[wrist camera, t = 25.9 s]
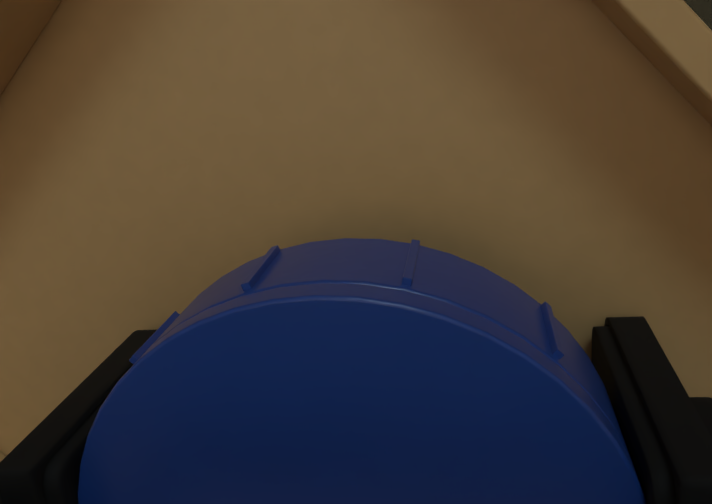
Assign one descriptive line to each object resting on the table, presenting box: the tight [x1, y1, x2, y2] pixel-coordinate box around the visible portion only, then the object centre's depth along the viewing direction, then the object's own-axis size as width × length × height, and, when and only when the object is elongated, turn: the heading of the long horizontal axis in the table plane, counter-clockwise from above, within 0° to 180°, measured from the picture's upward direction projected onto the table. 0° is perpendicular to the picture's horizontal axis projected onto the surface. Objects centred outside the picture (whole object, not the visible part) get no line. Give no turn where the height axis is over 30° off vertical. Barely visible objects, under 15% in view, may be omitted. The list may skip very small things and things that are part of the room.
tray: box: [0, 0, 712, 462], centre depth 11 cm, size 17×14×2 cm
